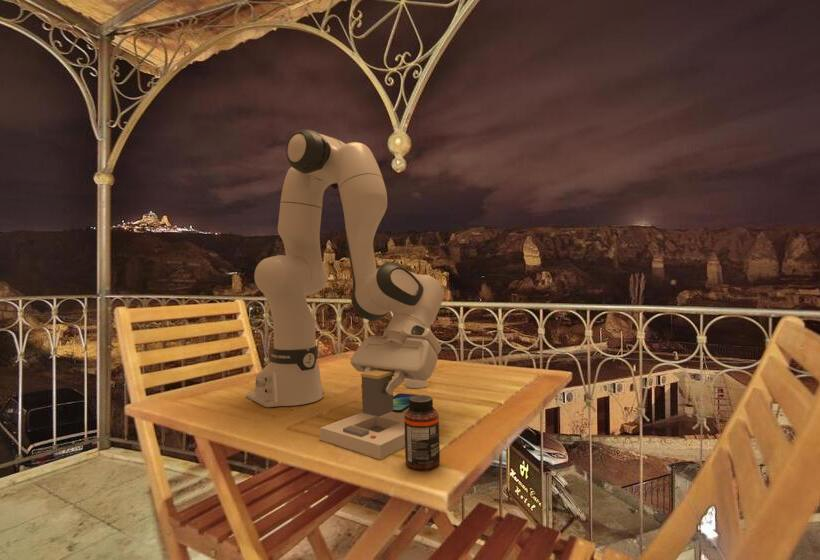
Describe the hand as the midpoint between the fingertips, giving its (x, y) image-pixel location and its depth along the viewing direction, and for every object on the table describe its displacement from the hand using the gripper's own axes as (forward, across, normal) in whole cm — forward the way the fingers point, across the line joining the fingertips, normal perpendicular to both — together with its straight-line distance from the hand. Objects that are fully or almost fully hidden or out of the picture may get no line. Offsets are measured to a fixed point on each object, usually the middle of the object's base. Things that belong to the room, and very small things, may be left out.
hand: (375, 391), depth 84 cm
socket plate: (+6, 0, +7) cm, 9 cm away
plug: (+3, 0, +4) cm, 4 cm away
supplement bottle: (+10, +15, +4) cm, 18 cm away
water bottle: (-20, -17, +34) cm, 43 cm away
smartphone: (-8, -11, +22) cm, 26 cm away
